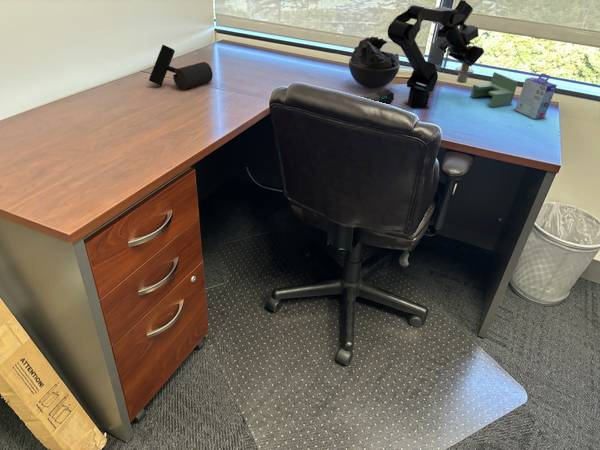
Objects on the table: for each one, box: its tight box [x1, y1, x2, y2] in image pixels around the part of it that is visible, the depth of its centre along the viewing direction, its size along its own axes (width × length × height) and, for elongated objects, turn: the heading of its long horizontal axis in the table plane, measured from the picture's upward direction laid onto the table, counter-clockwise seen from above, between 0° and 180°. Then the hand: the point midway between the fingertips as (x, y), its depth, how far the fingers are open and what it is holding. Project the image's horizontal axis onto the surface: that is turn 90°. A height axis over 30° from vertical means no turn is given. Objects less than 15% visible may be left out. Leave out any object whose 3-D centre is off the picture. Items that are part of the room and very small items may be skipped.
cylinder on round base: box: [454, 62, 474, 84], centre depth 180 cm, size 7×7×12 cm
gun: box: [361, 88, 395, 105], centre depth 166 cm, size 4×20×10 cm, turn 109°
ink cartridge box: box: [514, 72, 558, 120], centre depth 169 cm, size 10×6×14 cm, turn 28°
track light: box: [148, 44, 214, 91], centre depth 178 cm, size 15×14×20 cm
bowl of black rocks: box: [348, 36, 401, 90], centre depth 184 cm, size 20×20×19 cm
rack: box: [470, 71, 519, 108], centre depth 181 cm, size 10×12×9 cm
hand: (468, 64), depth 180 cm, fingers closed on cylinder on round base, 3 cm apart
